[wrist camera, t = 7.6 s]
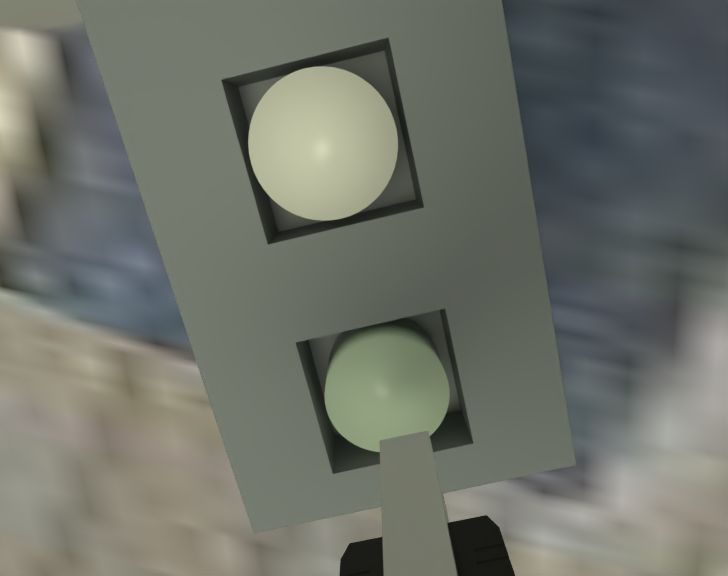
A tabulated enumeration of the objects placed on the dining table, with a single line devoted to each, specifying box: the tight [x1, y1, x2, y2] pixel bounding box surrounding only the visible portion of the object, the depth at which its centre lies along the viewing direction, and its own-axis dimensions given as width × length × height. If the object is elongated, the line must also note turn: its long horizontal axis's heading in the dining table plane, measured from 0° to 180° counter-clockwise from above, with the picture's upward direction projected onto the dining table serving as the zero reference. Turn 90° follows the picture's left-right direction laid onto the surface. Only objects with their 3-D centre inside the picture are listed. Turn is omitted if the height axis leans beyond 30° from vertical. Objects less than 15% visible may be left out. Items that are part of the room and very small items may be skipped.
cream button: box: [248, 66, 398, 221], centre depth 21 cm, size 5×5×3 cm
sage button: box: [325, 318, 450, 452], centre depth 24 cm, size 5×5×3 cm
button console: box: [76, 0, 576, 534], centre depth 23 cm, size 14×30×6 cm, turn 13°
